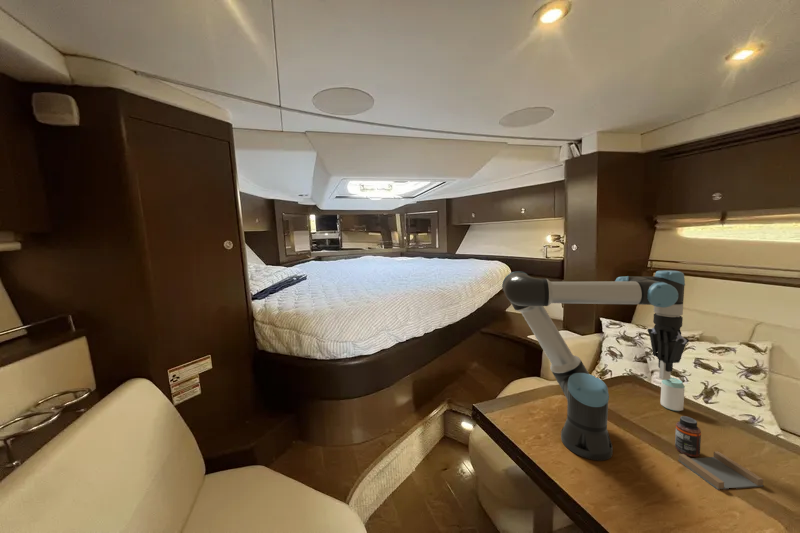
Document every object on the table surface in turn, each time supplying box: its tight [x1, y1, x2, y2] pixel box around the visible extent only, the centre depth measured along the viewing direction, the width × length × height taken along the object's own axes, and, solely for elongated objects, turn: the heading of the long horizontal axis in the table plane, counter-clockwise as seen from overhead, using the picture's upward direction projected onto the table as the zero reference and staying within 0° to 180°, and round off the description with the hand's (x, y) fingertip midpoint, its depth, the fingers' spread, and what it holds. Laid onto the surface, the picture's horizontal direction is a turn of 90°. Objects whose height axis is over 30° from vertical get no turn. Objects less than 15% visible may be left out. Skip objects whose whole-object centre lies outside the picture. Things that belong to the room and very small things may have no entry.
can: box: [659, 376, 686, 412], centre depth 121 cm, size 7×7×12 cm
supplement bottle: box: [674, 415, 702, 458], centre depth 96 cm, size 6×6×11 cm
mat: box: [677, 451, 764, 491], centre depth 87 cm, size 14×11×2 cm
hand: (664, 378), depth 103 cm, fingers closed
